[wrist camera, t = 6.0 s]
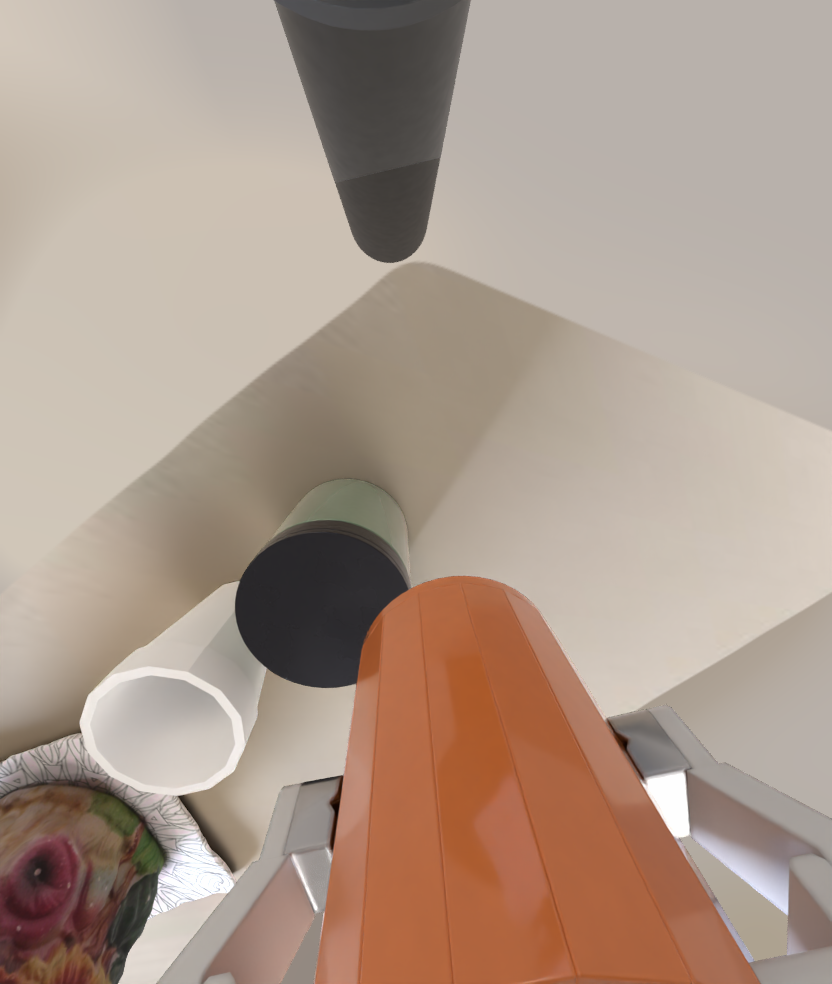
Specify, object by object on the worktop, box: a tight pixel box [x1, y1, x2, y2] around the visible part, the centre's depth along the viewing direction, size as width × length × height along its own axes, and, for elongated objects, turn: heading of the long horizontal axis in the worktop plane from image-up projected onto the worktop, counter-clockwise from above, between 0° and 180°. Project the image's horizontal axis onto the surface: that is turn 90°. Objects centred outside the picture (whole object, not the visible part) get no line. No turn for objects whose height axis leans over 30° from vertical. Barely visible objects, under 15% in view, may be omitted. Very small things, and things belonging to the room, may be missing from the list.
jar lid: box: [235, 520, 411, 688], centre depth 25 cm, size 10×10×2 cm
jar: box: [267, 479, 411, 584], centre depth 30 cm, size 10×10×12 cm
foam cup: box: [79, 581, 267, 796], centre depth 31 cm, size 10×9×13 cm
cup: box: [314, 576, 761, 984], centre depth 9 cm, size 6×6×9 cm
